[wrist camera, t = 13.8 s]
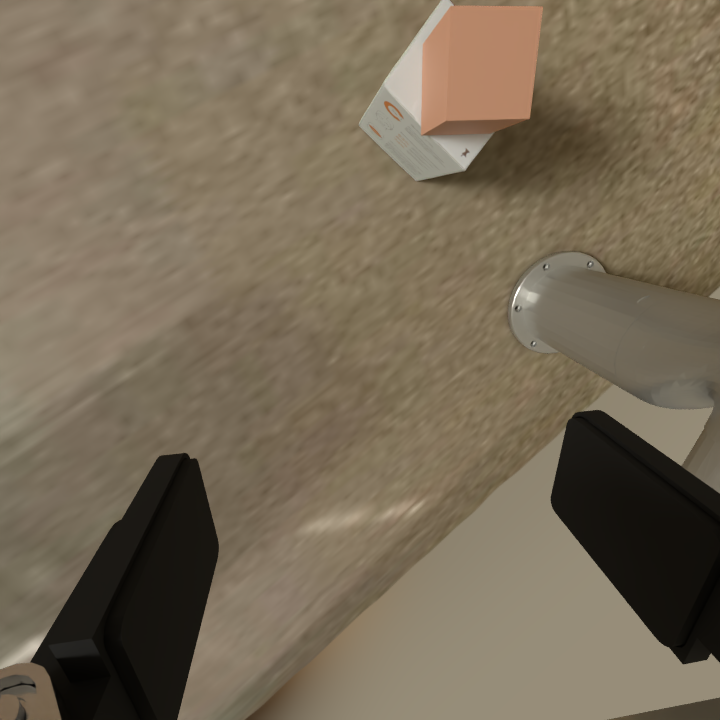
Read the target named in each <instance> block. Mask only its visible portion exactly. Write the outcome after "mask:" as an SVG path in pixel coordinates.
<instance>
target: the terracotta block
mask: <svg viewBox="0 0 720 720" xmlns="http://www.w3.org/2000/svg"><path fill="white" fill-rule="evenodd" d="M542 11H543V7H539V6H450V8H449V9H448V10H447V12H446V13H445V14H444V16H443V17H442V19H441V20H440V21H439V23H438V24H437V25H436V27H435V28H434V29H433V31H432V32H431V34H430V35H429V36H428V38H427V39H426V40H425V42H424V43H423V55H422V108H421V136H425V135H459V134H491V133H493V132H496V131H499V130H501V129H504V128H507V127H509V126H512V125H515V124H517V123H520V122H522V121H525V120H528V119H530V113H531V104H532V96H533V87H534V79H535V70H536V62H537V53H538V45H539V36H540V28H541V19H542Z"/></svg>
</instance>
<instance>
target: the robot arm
mask: <svg viewBox="0 0 720 720" xmlns="http://www.w3.org/2000/svg"><path fill="white" fill-rule="evenodd" d="M543 265H544V266H543ZM515 307H516V308H515ZM508 321H509V325H510V329H511V331H512V333H513V335H514V336H515V338H516V339H517V340H518V341H519V342H520V343H521V344H523V345H524V346H525V347H527V348H528V349H530V350H533V351H536V352H539V353H547V354H548V353H557V352H560V353H562V354H564V355H566V356H567V357H569V358H571V359H572V360H574V361H576V362H577V363H579V364H581V365H582V366H584V367H586V368H587V369H589V370H591V371H593V372H594V373H596V374H598V375H599V376H601V377H603V378H604V379H606V380H608V381H609V382H611V383H613V384H614V385H616V386H618V387H619V388H621V389H623V390H625V391H627V392H628V393H630V394H632V395H633V396H635V397H637V398H639V399H640V400H642V401H645V402H647V403H649V404H652V405H655V406H659V407H663V408H669V409H701V408H710V407H714V408H713V411H712V413H711V415H710V417H709V419H708V421H707V422H706V424H705V426H704V430H703V431H702V433H701V435H700V436H699V438H698V440H697V441H696V443H695V445H694V447H693V448H692V450H691V451H690V453H689V455H688V456H687V458H686V460H685V461H684V463H683V465H682V466H680V465H679V464H677V463H676V462H674V461H673V460H672V459H670V458H669V457H667V456H666V455H664V454H663V453H662V452H660V451H659V450H657V449H656V448H655V447H653V446H652V445H650V444H649V443H647V442H646V441H644V440H643V439H642V438H640V437H639V436H637V435H636V434H635V433H633V432H632V431H630V430H629V429H628V428H626V427H625V426H623V425H622V424H620V423H619V422H618V421H616V420H615V419H613V418H612V417H610V416H609V415H608V414H606V413H605V412H603V411H601V410H593V411H584V412H577V413H575V414H574V415H573V417H572V419H570V420H569V421H568V423H567V426H566V431H565V435H564V440H563V445H562V449H561V453H560V458H559V463H558V467H557V471H556V476H555V481H554V485H553V490H552V494H551V504H552V507H553V509H554V511H555V513H556V514H557V515H558V516H559V518H560V519H561V520H562V521H563V523H564V524H565V525H566V526H567V527H568V529H569V530H570V531H571V533H572V534H573V535H574V536H575V538H576V539H577V540H578V541H579V543H580V544H581V545H582V546H583V547H584V549H585V550H586V551H587V552H588V554H589V555H590V556H591V558H592V559H593V560H594V561H595V563H596V564H597V565H598V566H599V568H600V569H601V570H602V571H603V573H604V574H605V575H606V576H607V577H608V579H609V580H610V581H611V583H612V584H613V585H614V586H615V588H616V589H617V590H618V591H619V593H620V594H621V595H622V596H623V598H625V600H626V601H627V603H628V604H629V605H630V606H631V607H632V609H633V610H634V611H635V612H636V614H637V615H638V616H639V617H640V619H641V620H642V621H643V622H644V624H645V625H646V626H647V627H648V629H649V630H650V631H651V632H652V634H653V635H654V636H655V637H656V638H657V640H659V642H661V643H662V644H663V645H664V646H667V647H669V648H670V649H671V650H672V651H673V653H674V654H675V655H676V656H677V657H678V659H679V660H680V661H681V662H682V664H688V663H693V662H698V661H703V660H707V659H708V657H709V655H710V654H711V653H712V655H713V656H714V657H715V658H716V659H717V660H718V661H719V662H720V300H718V299H713V298H709V297H705V296H701V295H696V294H692V293H688V292H684V291H679V290H675V289H671V288H667V287H662V286H658V285H654V284H650V283H645V282H641V281H637V280H633V279H628V278H624V277H620V276H616V275H611V274H607V273H606V271H605V270H604V268H603V266H602V265H601V264H600V263H599V262H598V261H597V260H596V259H595V258H593V257H591V256H590V255H587V254H584V253H580V252H574V251H563V252H558V253H554V254H551V255H548V256H546V257H544V258H542V259H540V260H539V261H538V262H536V263H535V264H533V265H532V266H531V267H530V268H529V269H528V270H527V271H526V272H525V273H524V274H523V275H522V277H521V278H520V279H519V281H518V282H517V284H516V286H515V288H514V289H513V292H512V295H511V298H510V301H509V306H508ZM218 552H219V544H218V538H217V534H216V530H215V526H214V523H213V519H212V515H211V511H210V507H209V503H208V499H207V495H206V491H205V487H204V483H203V479H202V475H201V471H200V467H199V463H198V461H197V459H195V458H194V459H190V457H189V455H188V454H186V453H182V454H172V455H162V456H159V457H158V459H157V460H156V462H155V463H154V465H153V467H152V468H151V470H150V472H149V474H148V475H147V477H146V479H145V480H144V482H143V484H142V485H141V487H140V489H139V491H138V492H137V494H136V496H135V497H134V499H133V501H132V503H131V504H130V506H129V508H128V509H127V511H126V513H125V515H124V516H123V518H122V520H119V521H118V522H116V523H115V524H114V525H113V526H112V528H111V529H110V530H109V532H108V534H107V535H106V537H105V539H104V540H103V542H102V544H101V545H100V547H99V549H98V550H97V552H96V554H95V555H94V557H93V559H92V560H91V562H90V564H89V565H88V567H87V569H86V570H85V572H84V574H83V575H82V577H81V579H80V580H79V582H78V584H77V585H76V587H75V589H74V590H73V592H72V594H71V595H70V597H69V599H68V600H67V602H66V604H65V605H64V607H63V609H62V610H61V612H60V614H59V615H58V617H57V619H56V620H55V622H54V624H53V625H52V627H51V628H50V630H49V632H48V633H47V635H46V637H45V638H44V640H43V642H42V643H41V645H40V647H39V648H38V650H37V652H36V653H35V655H34V657H33V658H32V660H31V662H30V663H20V664H14V665H12V666H9V667H6V668H3V669H0V720H177V718H178V714H179V710H180V706H181V702H182V698H183V694H184V690H185V686H186V682H187V678H188V674H189V670H190V666H191V662H192V658H193V654H194V650H195V646H196V642H197V638H198V634H199V630H200V626H201V622H202V618H203V614H204V610H205V606H206V602H207V598H208V594H209V591H210V587H211V583H212V579H213V575H214V571H215V567H216V563H217V559H218ZM609 720H720V698H716V699H710V700H705V701H701V702H695V703H691V704H685V705H680V706H675V707H670V708H664V709H659V710H654V711H649V712H644V713H639V714H635V715H629V716H624V717H619V718H614V719H609Z"/></svg>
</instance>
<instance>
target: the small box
mask: <svg viewBox="0 0 720 720" xmlns="http://www.w3.org/2000/svg"><path fill="white" fill-rule="evenodd" d="M450 6H455V5H454V4H453V3H452V1H451V0H441V2H440V3H439V4H438V6H437V7H436V9H435V10H434V11H433V13H432V14H431V15H430V17H429V18H428V20H427V21H426V22H425V24H424V25H423V27H422V28H421V30H420V31H419V32H418V34H417V35H416V37H415V38H414V39H413V41H412V42H411V44H410V45H409V47H408V48H407V49H406V51H405V52H404V54H403V55H402V56H401V58H400V59H399V61H398V62H397V63H396V65H395V66H394V68H393V69H392V70H391V72H390V73H389V75H388V76H387V78H386V79H385V81H384V82H383V84H382V86H381V88H380V90H379V91H378V93H377V94H376V96H375V98H374V99H373V101H372V103H371V104H370V106H369V107H368V109H367V111H366V112H365V114H364V115H363V117H362V119H361V121H360V123H359V126H360V127H361V128H362V129H363V130H364V131H365V132H366V133H367V134H368V135H369V136H370V137H371V138H372V139H373V140H374V141H375V142H376V143H377V144H378V145H379V146H380V147H381V148H382V149H383V150H384V151H385V152H386V153H387V154H388V155H389V156H390V157H391V158H392V159H393V160H395V161H396V162H397V163H398V164H399V165H400V166H401V167H402V168H403V169H404V170H405V171H406V172H407V173H408V174H409V175H410V176H411V177H412V178H413V179H415V180H416V181H421V180H425V179H430V178H434V177H439V176H443V175H448V174H453V173H457V172H462V171H465V170H466V169H467V168H468V166H469V165H470V164H471V162H472V161H473V160H474V158H475V157H476V156H477V154H478V153H479V152H480V151H481V149H482V148H483V147H484V145H485V144H486V143H487V141H488V140H489V139H490V138H491V136H492V135H493V134H494V132H493V133H491V134H459V135H425V136H421V108H422V55H423V43H424V42H425V40H426V39H427V38H428V36H429V35H430V34H431V32H432V31H433V29H434V28H435V27H436V25H437V24H438V23H439V21H440V20H441V19H442V17H443V16H444V14H445V13H446V12H447V10H448V9H449V8H450Z"/></svg>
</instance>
